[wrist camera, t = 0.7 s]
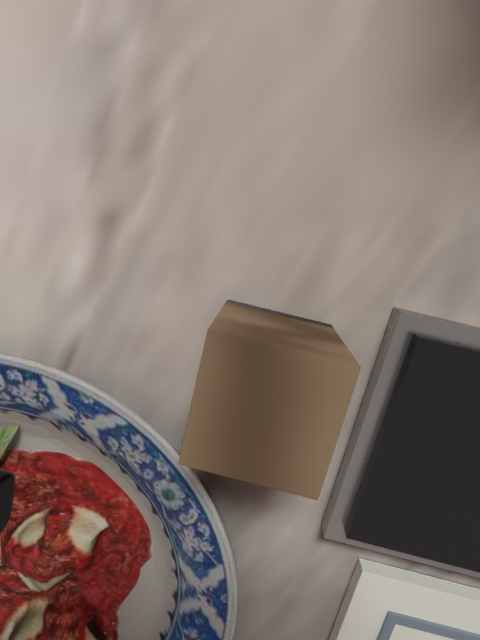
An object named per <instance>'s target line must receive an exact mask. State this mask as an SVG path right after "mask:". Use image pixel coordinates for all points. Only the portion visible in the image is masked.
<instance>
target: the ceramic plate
mask: <svg viewBox="0 0 480 640" xmlns="http://www.w3.org/2000/svg"><path fill="white" fill-rule="evenodd" d="M179 457H180V454H179V453H178V452H177V450H176V449H175V448H174V447H173V446H172V444H171V443H170V442H168V441H167V440H166V439H165V438H164V437H163V436H162V435H161V434H160V433H159V432H158V431H157V430H156V429H155V428H154V427H153V426H152V425H151V424H149V423H148V422H147V421H146V420H144V419H143V418H142V417H141V416H139V415H138V414H137V413H136V412H134V411H133V410H132V409H131V408H129V407H128V406H126V405H125V404H123V403H122V402H120V401H119V400H117V399H116V398H114V397H113V396H111V395H110V394H108V393H106V392H104V391H103V390H101V389H99V388H97V387H95V386H93V385H92V384H90V383H88V382H86V381H84V380H82V379H80V378H78V377H75V376H73V375H71V374H68V373H66V372H64V371H62V370H59V369H56V368H53V367H50V366H48V365H45V364H42V363H39V362H36V361H32V360H28V359H24V358H20V357H16V356H12V355H7V354H0V469H1V470H4V471H8V472H11V473H13V474H14V476H15V486H14V495H13V504H12V512H11V515H10V518H9V521H8V523H7V525H6V526H5V528H4V529H3V531H2V532H1V534H0V640H232V639H233V635H234V631H235V625H236V618H237V607H238V588H237V578H236V568H235V563H234V558H233V553H232V549H231V545H230V542H229V539H228V536H227V533H226V530H225V527H224V524H223V522H222V520H221V518H220V516H219V513H218V511H217V509H216V507H215V505H214V503H213V501H212V500H211V498H210V496H209V495H208V493H207V491H206V490H205V488H204V486H203V485H202V483H201V481H200V479H199V478H198V476H197V474H196V473H195V472H194V471H193V470H192V468H190V467H186V466H182V465H178V462H179Z"/></svg>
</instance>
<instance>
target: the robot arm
mask: <svg viewBox="0 0 480 640" xmlns="http://www.w3.org/2000/svg"><path fill="white" fill-rule="evenodd" d="M14 486H15V476H14V474H13V473H11V472H8V471H4V470H1V469H0V534H1V532H2V531H3V529H4V528H5V526H6V525H7V523H8V521H9V518H10V515H11V512H12V504H13V495H14Z"/></svg>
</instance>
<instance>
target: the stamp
mask: <svg viewBox="0 0 480 640" xmlns="http://www.w3.org/2000/svg"><path fill="white" fill-rule="evenodd" d="M360 369H361V367H360V366H359V364H358V363H357V361H356V360H355V358H354V357H353V356H352V354H351V353H350V351H349V350H348V348H347V347H346V345H345V344H344V343H343V341H342V340H341V338H340V337H339V335H338V334H337V333H336V331H335V330H334V328H333V327H332V325H330V324H326V323H322V322H318V321H313V320H309V319H305V318H301V317H297V316H293V315H289V314H285V313H281V312H277V311H273V310H269V309H265V308H260V307H256V306H252V305H248V304H244V303H240V302H236V301H232V300H227V301H226V303H225V305H224V306H223V308H222V309H221V311H220V312H219V314H218V315H217V317H216V318H215V320H214V321H213V323H212V324H211V326H210V327H209V329H208V331H207V335H206V340H205V344H204V349H203V353H202V358H201V362H200V367H199V371H198V376H197V381H196V385H195V390H194V394H193V399H192V403H191V408H190V412H189V417H188V421H187V426H186V430H185V435H184V439H183V444H182V448H181V453H180V457H179V462H178V465H182V466H186V467H190V468H194V469H198V470H202V471H206V472H210V473H213V474H217V475H221V476H225V477H229V478H233V479H237V480H241V481H245V482H248V483H252V484H256V485H260V486H264V487H268V488H272V489H276V490H280V491H284V492H287V493H291V494H295V495H299V496H303V497H307V498H311V499H315V500H318V497H319V494H320V491H321V488H322V485H323V482H324V479H325V476H326V473H327V470H328V467H329V464H330V461H331V457H332V454H333V451H334V448H335V445H336V442H337V439H338V436H339V433H340V430H341V427H342V424H343V421H344V418H345V415H346V412H347V409H348V405H349V402H350V399H351V396H352V393H353V390H354V387H355V384H356V381H357V378H358V375H359V372H360Z"/></svg>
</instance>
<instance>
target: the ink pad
mask: <svg viewBox="0 0 480 640" xmlns="http://www.w3.org/2000/svg"><path fill="white" fill-rule="evenodd" d="M321 524H322V530H323V535H324V538H326V539H330V540H334V541H338V542H342V543H346V544H349V545H353V546H357V547H361V548H365V549H369V550H373V551H377V552H380V553H384V554H388V555H392V556H396V557H400V558H404V559H407V560H411V561H415V562H419V563H423V564H427V565H431V566H435V567H438V568H442V569H446V570H450V571H454V572H458V573H462V574H465V575H469V576H473V577H477V578H480V328H477V327H473V326H469V325H465V324H461V323H457V322H453V321H449V320H444V319H440V318H436V317H432V316H428V315H424V314H420V313H416V312H412V311H407V310H403V309H399V308H395V307H394V309H393V312H392V315H391V318H390V321H389V324H388V326H387V329H386V332H385V335H384V338H383V341H382V344H381V347H380V350H379V353H378V356H377V359H376V362H375V365H374V368H373V371H372V374H371V377H370V380H369V383H368V386H367V389H366V392H365V395H364V398H363V401H362V404H361V407H360V410H359V413H358V416H357V419H356V422H355V425H354V428H353V431H352V434H351V437H350V440H349V443H348V445H347V448H346V451H345V454H344V457H343V460H342V463H341V466H340V469H339V472H338V475H337V478H336V481H335V484H334V487H333V490H332V493H331V496H330V499H329V502H328V505H327V508H326V511H325V514H324V517H323V520H322V523H321Z"/></svg>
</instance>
